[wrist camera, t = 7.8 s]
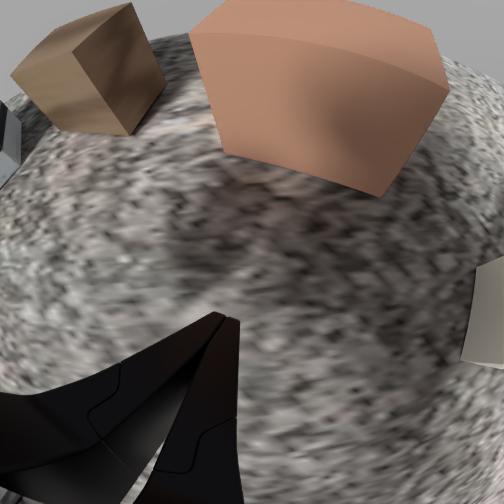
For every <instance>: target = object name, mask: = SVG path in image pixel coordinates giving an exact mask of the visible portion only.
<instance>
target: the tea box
mask: <svg viewBox="0 0 504 504" xmlns="http://www.w3.org/2000/svg"><path fill="white" fill-rule="evenodd" d="M20 167H21V122H20V121H19V119H18V118H17V117H16V116H15V115H14V114H13V113H12V112H11V111H10V110H9V109H8V108H7V107H6V106H5V105H4V103H2V101H1V100H0V188H1V187H2V186H3V185H4V184H5V182H6V181H7V180H8V179H9V178H10V177H11V176H12V175H13V174H14V173H15V172H16V171H17V170H18V169H19V168H20Z"/></svg>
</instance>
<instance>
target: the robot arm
mask: <svg viewBox="0 0 504 504" xmlns="http://www.w3.org/2000/svg"><path fill="white" fill-rule="evenodd" d="M239 342H240V321H239V320H237V319H234V318H232V317H226V315H224V314H221V313H218V312H215V311H214V312H211V313H210V314H208V315H206V316H204V317H202V318H201V319H199V320H197V321H195V322H193V323H192V324H190V325H188V326H186V327H184V328H183V329H181V330H179V331H177V332H175V333H173V334H172V335H170V336H168V337H166V338H164V339H162V340H161V341H159V342H157V343H155V344H153V345H151V346H149V347H147V348H146V349H144V350H142V351H140V352H138V353H136V354H134V355H132V356H130V357H128V358H126V359H125V360H123V361H121V364H120V363H117V364H115V365H113V366H111V367H109V368H107V369H105V370H102V371H100V372H98V373H96V374H94V375H91V376H89V377H86V378H84V379H81V380H78V381H76V382H73V383H70V384H67V385H64V386H61V387H58V388H55V389H52V390H49V391H46V392H42V393H39V394H33V395H17V394H10V393H4V392H0V504H120V503H121V501H122V500H123V499H124V497H125V496H126V494H127V493H128V492H129V490H130V489H131V487H132V486H133V485H134V483H135V482H136V480H137V479H138V477H139V476H140V474H141V473H142V472H143V470H144V469H145V467H146V466H147V464H148V463H149V462H150V460H151V459H152V457H153V456H154V454H155V453H156V451H157V450H158V448H159V447H160V445H161V444H162V443H163V441H164V440H165V438H166V437H167V438H166V440H165V442H164V445H163V447H162V449H161V451H160V454H159V456H158V458H157V461H156V463H155V465H154V468H153V471H152V472H151V475H150V477H149V479H148V481H147V483H146V484H145V486H144V488H143V490H142V491H141V493H140V494H139V495H138V497H137V498H136V500H135V501H134V502H133V504H244V498H243V491H242V485H241V478H240V472H239V464H238V454H237V418H236V417H237V399H238V369H239Z"/></svg>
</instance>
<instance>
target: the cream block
mask: <svg viewBox="0 0 504 504" xmlns="http://www.w3.org/2000/svg"><path fill="white" fill-rule="evenodd" d="M460 361H465V362H469V363H474V364H478V365H483V366H488V367H493V368H498V369H504V256H502V257H500V258H498V259H495V260H493V261H491V262H488V263H486V264H483V265H481V266H478V267H477V268H476V278H475V287H474V295H473V301H472V308H471V314H470V319H469V324H468V329H467V334H466V338H465V342H464V347H463V351H462V354H461V358H460Z"/></svg>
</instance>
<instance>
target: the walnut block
mask: <svg viewBox="0 0 504 504" xmlns="http://www.w3.org/2000/svg"><path fill="white" fill-rule="evenodd" d="M10 76H11V77H12V78H13V80H14V81H15V82H16V83H17V84H18V85H19V86H20V88H21V89H22V90H23V91H24V92H25V93H26V94H27V95H28V97H29V98H30V99H31V100H32V101H33V102H34V103H35V104H36V105H37V106H38V108H39V109H40V110H41V111H42V112H43V113H44V114H45V115H46V116H47V117H48V118H49V119H50V120H51V122H52V123H53V124H54V125H55V126H56V127H57V128H58V129H59V130H60V131H75V132H90V133H103V134H113V135H123V136H130V135H131V134H132V132H133V131H134V129H135V128H136V126H137V125H138V123H139V122H140V120H141V119H142V117H143V116H144V114H145V113H146V112H147V110H148V109H149V107H150V106H151V105H152V103H153V102H154V101H155V99H156V98H157V97H158V95H159V94H160V93H161V91H162V90H163V89H164V87H165V86H166V85H167V83H166V81H165V79H164V77H163V74H162V72H161V70H160V67H159V65H158V63H157V61H156V58H155V56H154V54H153V51H152V49H151V47H150V44H149V42H148V40H147V37H146V35H145V33H144V31H143V28H142V26H141V24H140V21H139V19H138V17H137V14H136V12H135V9H134V7H133V5H132V3H131V2H130V3H126V4H122V5H119V6H115V7H112V8H109V9H106V10H102V11H100V12H96V13H94V14H91V15H88V16H85V17H83V18H80V19H78V20H75V21H73V22H70V23H68V24H66V25H63V26H61V27H59V28H57V29H55V30H54V31H52V32H51V33H50V34H49V35H48V36H47V37H46V38H45V39H44V40H43V41H42V42H41V43H39V45H37V46H36V47H35V48H34V50H32V52H30V54H29V55H28V56H27V57H26V58H25V59H24V60H23V61H22V62H21V63H20V64H19V65H18V67H17V68H16V69H15V70H14V71H13V72H12V74H11V75H10Z"/></svg>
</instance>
